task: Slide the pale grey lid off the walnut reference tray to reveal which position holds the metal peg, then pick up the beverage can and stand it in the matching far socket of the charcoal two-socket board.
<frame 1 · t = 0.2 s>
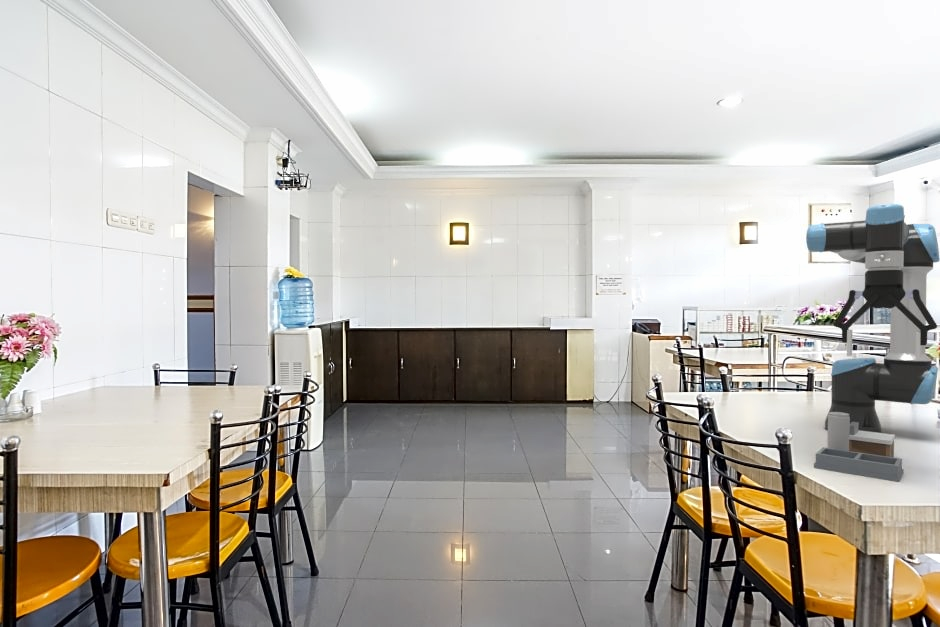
hand: (882, 357, 139), 27 cm above the table, fingers open, 13 cm apart
socket board: (858, 470, 140), on the table
lid: (871, 432, 153), point 7 cm above the table, slide at 0.0 cm
beverage can: (838, 460, 150), on the table
reference tray: (870, 456, 153), on the table
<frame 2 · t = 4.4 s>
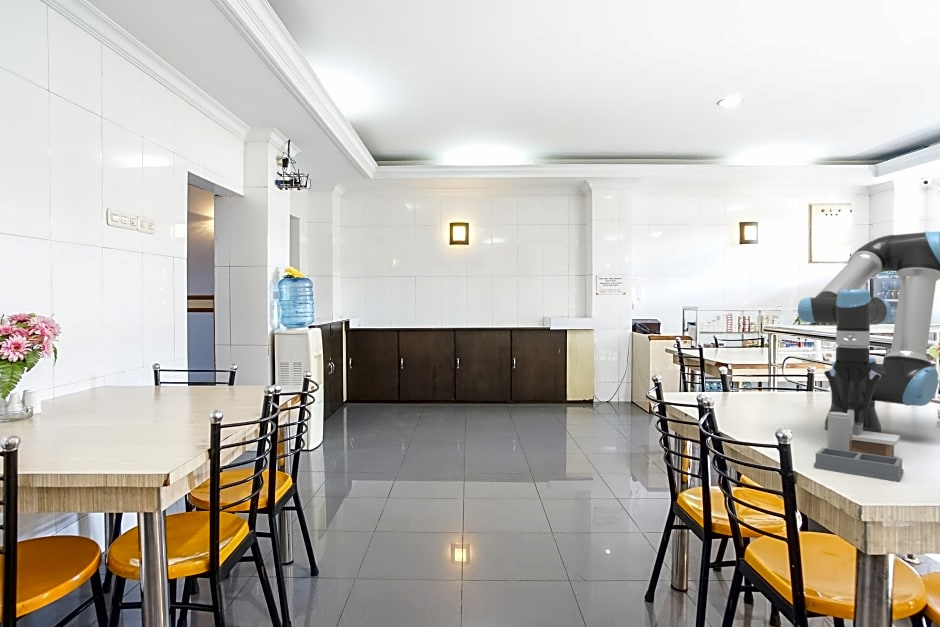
hand: (851, 433, 156), 5 cm above the table, fingers closed
lid: (875, 433, 152), point 6 cm above the table, slide at 1.0 cm, touching gripper
everything else where it was.
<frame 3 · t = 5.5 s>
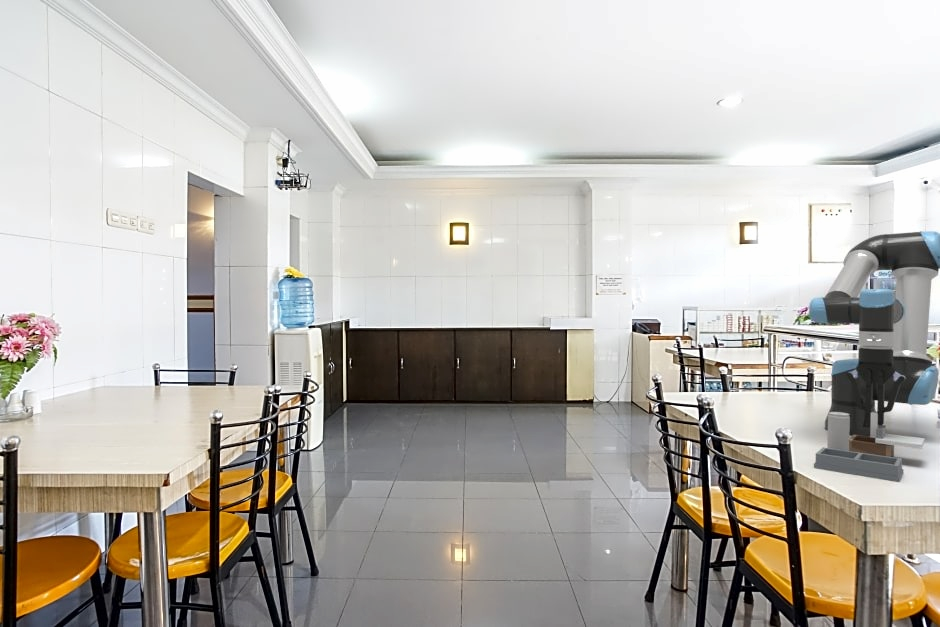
hand: (874, 436, 152), 5 cm above the table, fingers closed
lid: (900, 435, 149), point 6 cm above the table, slide at 6.2 cm, touching gripper
everything else where it was.
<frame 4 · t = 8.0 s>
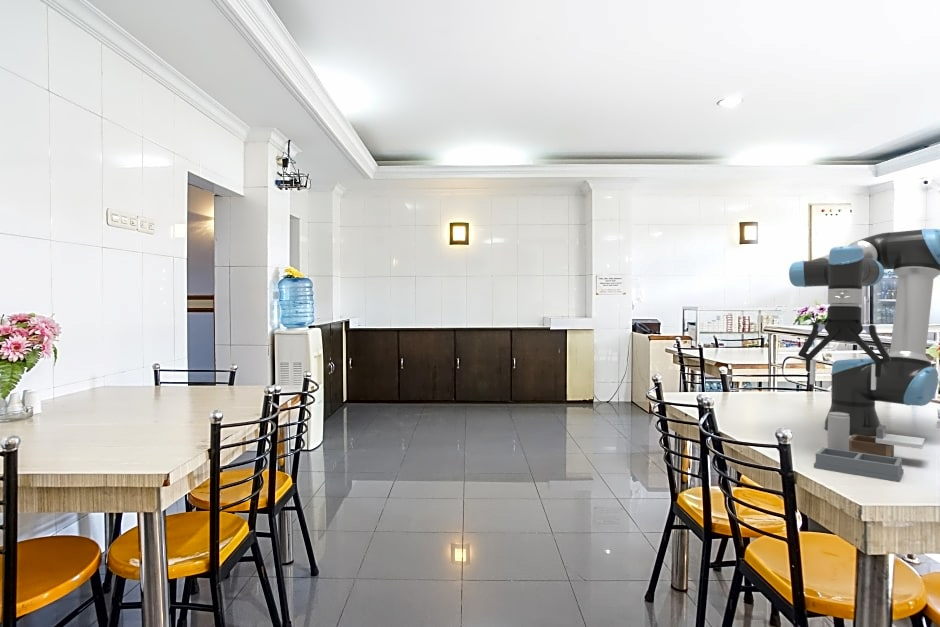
hand: (841, 386, 151), 19 cm above the table, fingers open, 13 cm apart
lid: (900, 436, 149), point 7 cm above the table, slide at 6.2 cm
everything else where it was.
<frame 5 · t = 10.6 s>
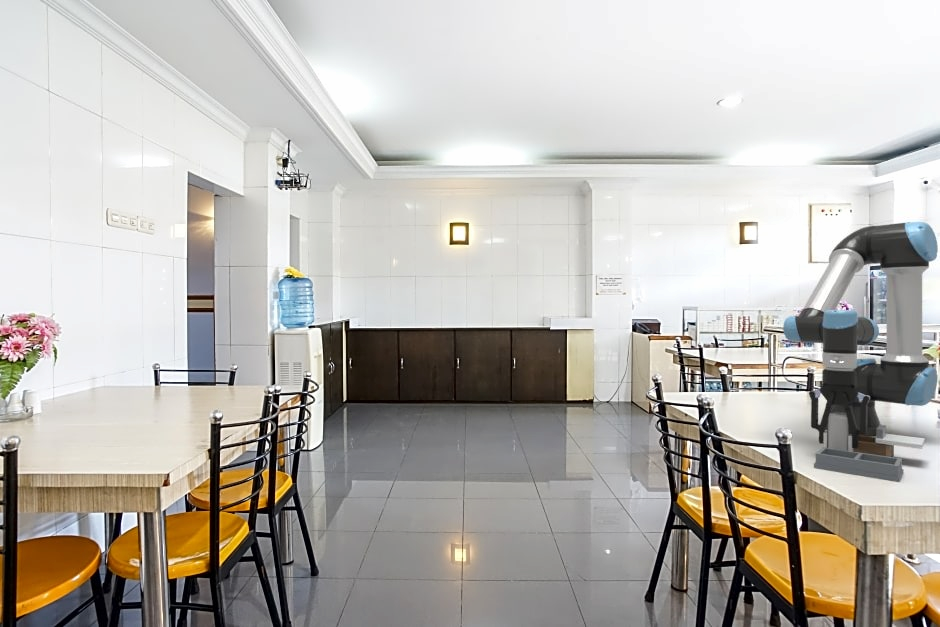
hand: (838, 458, 150), 0 cm above the table, fingers closed on beverage can, 5 cm apart
beverage can: (838, 460, 150), on the table, touching gripper
everything else where it was.
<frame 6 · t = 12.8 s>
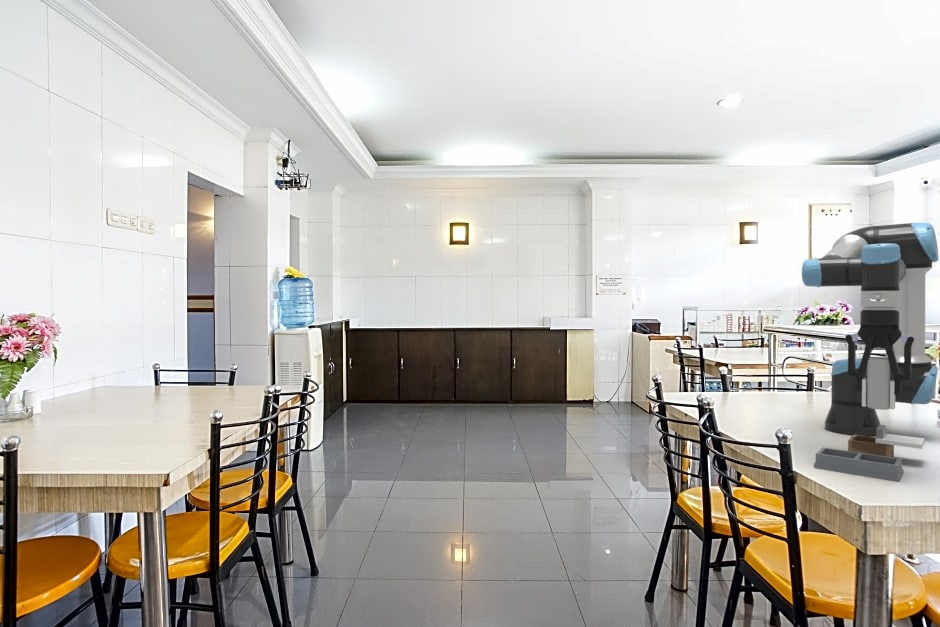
hand: (878, 406, 137), 16 cm above the table, fingers closed on beverage can, 5 cm apart
beverage can: (878, 409, 137), point 15 cm above the table, touching gripper
everything else where it was.
when the fingers open (4 cm above the table, at t = 15.1 s): beverage can drops 2 cm, resting on socket board.
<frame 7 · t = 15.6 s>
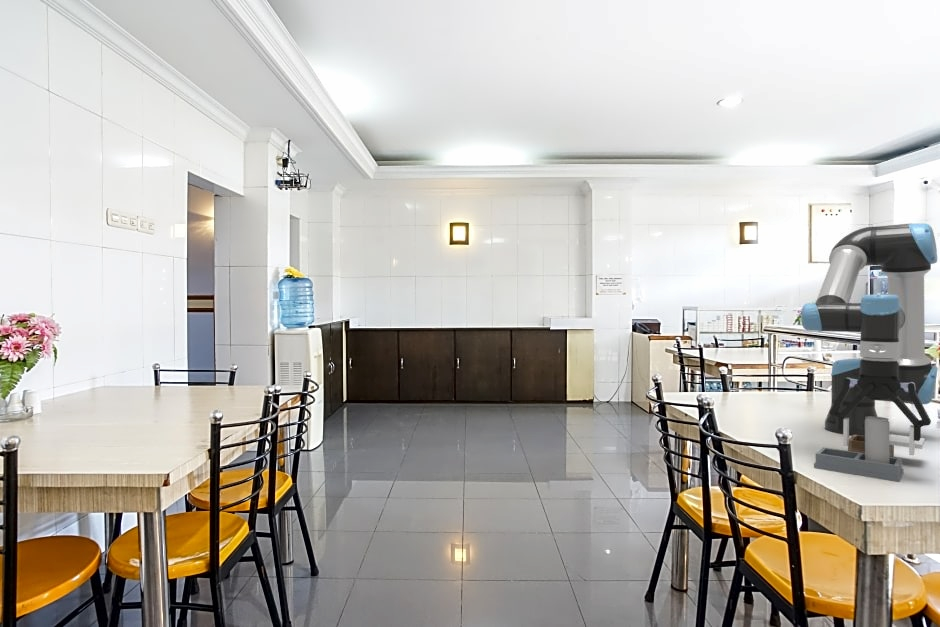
hand: (877, 449, 137), 6 cm above the table, fingers open, 12 cm apart
beverage can: (877, 469, 138), point 1 cm above the table, touching socket board
everything else where it was.
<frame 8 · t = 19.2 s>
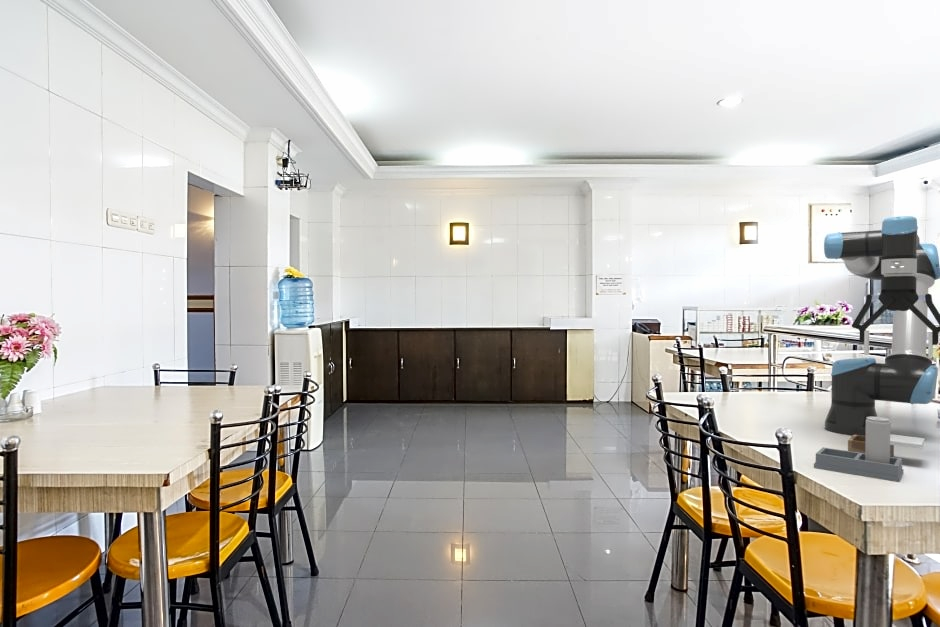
hand: (897, 356, 153), 27 cm above the table, fingers open, 13 cm apart
nothing on the table moved.
at the end: lid slide at 6.2 cm; beverage can 0.1 cm from the target spot on the socket board, point 1.0 cm above the socket board's base; beverage can tilted 1° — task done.
